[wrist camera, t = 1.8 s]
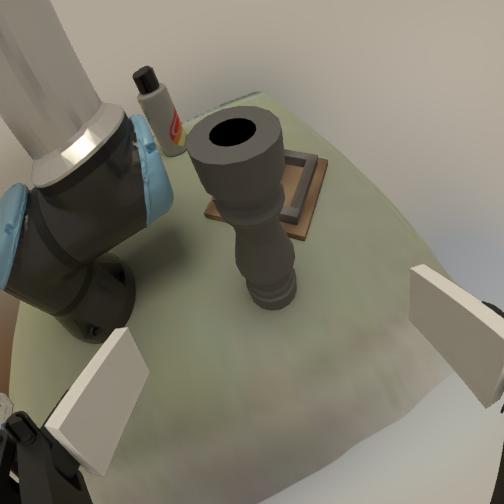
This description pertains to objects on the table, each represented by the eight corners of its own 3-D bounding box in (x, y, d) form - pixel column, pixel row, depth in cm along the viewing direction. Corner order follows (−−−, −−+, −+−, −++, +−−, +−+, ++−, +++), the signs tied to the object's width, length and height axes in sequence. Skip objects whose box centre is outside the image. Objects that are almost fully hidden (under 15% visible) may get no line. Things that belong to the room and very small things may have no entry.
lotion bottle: (194, 140, 55) (162, 60, 37) (179, 158, 52) (141, 76, 35) (174, 138, 56) (141, 63, 39) (159, 155, 54) (120, 79, 37)
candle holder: (295, 311, 35) (284, 166, 13) (247, 308, 36) (168, 172, 14) (297, 267, 38) (287, 101, 16) (252, 265, 39) (196, 109, 17)
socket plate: (206, 217, 44) (200, 205, 41) (243, 150, 50) (240, 138, 48) (304, 241, 39) (304, 228, 36) (327, 164, 46) (328, 151, 43)
